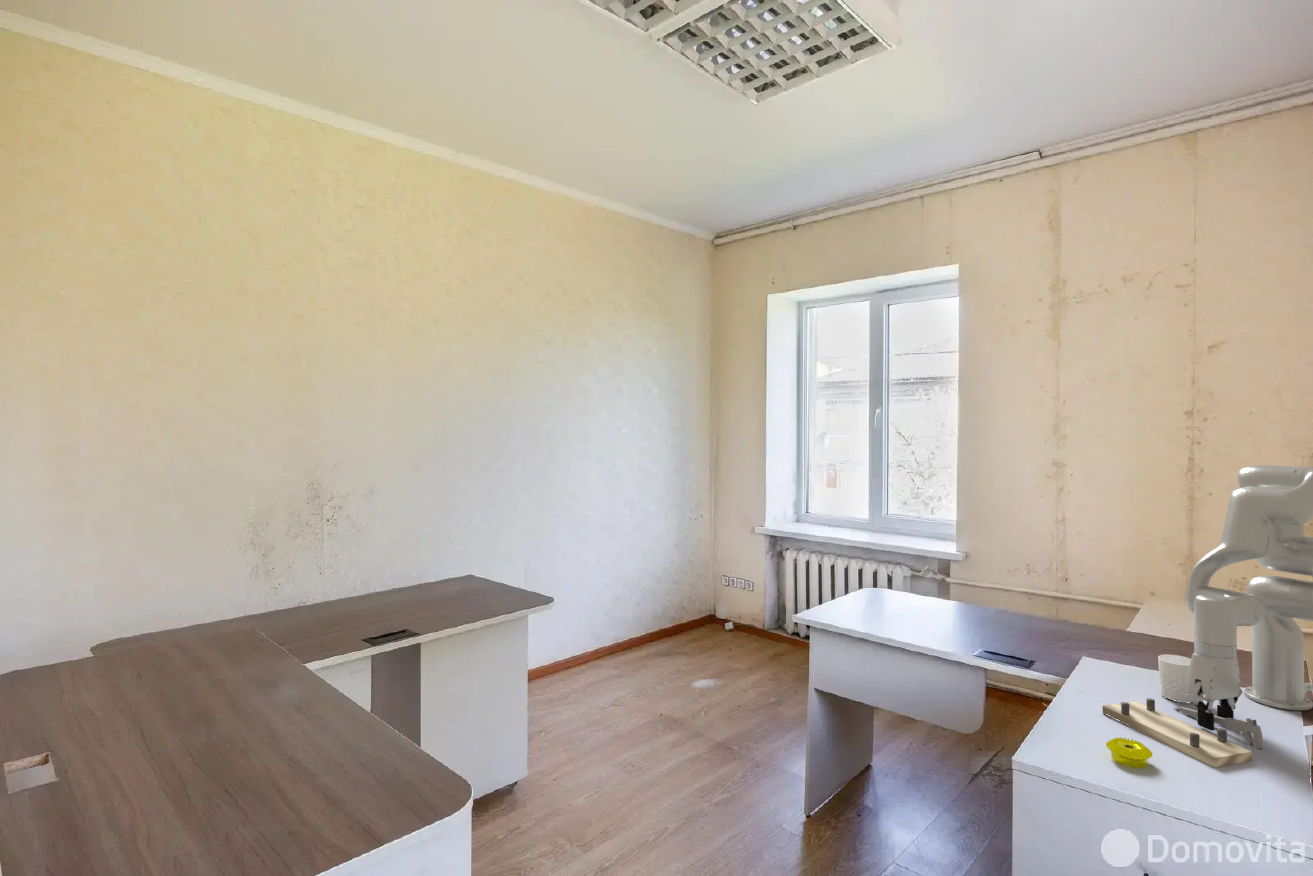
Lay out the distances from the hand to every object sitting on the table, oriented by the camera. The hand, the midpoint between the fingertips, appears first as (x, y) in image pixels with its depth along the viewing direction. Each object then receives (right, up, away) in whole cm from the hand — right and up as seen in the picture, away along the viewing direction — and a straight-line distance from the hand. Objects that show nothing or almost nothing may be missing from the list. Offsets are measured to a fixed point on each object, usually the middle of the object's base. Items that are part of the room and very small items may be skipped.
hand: (1215, 725), depth 151 cm
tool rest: (-13, -1, -3) cm, 13 cm away
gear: (-30, -2, -13) cm, 33 cm away
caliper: (0, -1, 0) cm, 1 cm away
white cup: (+4, 0, +16) cm, 17 cm away
